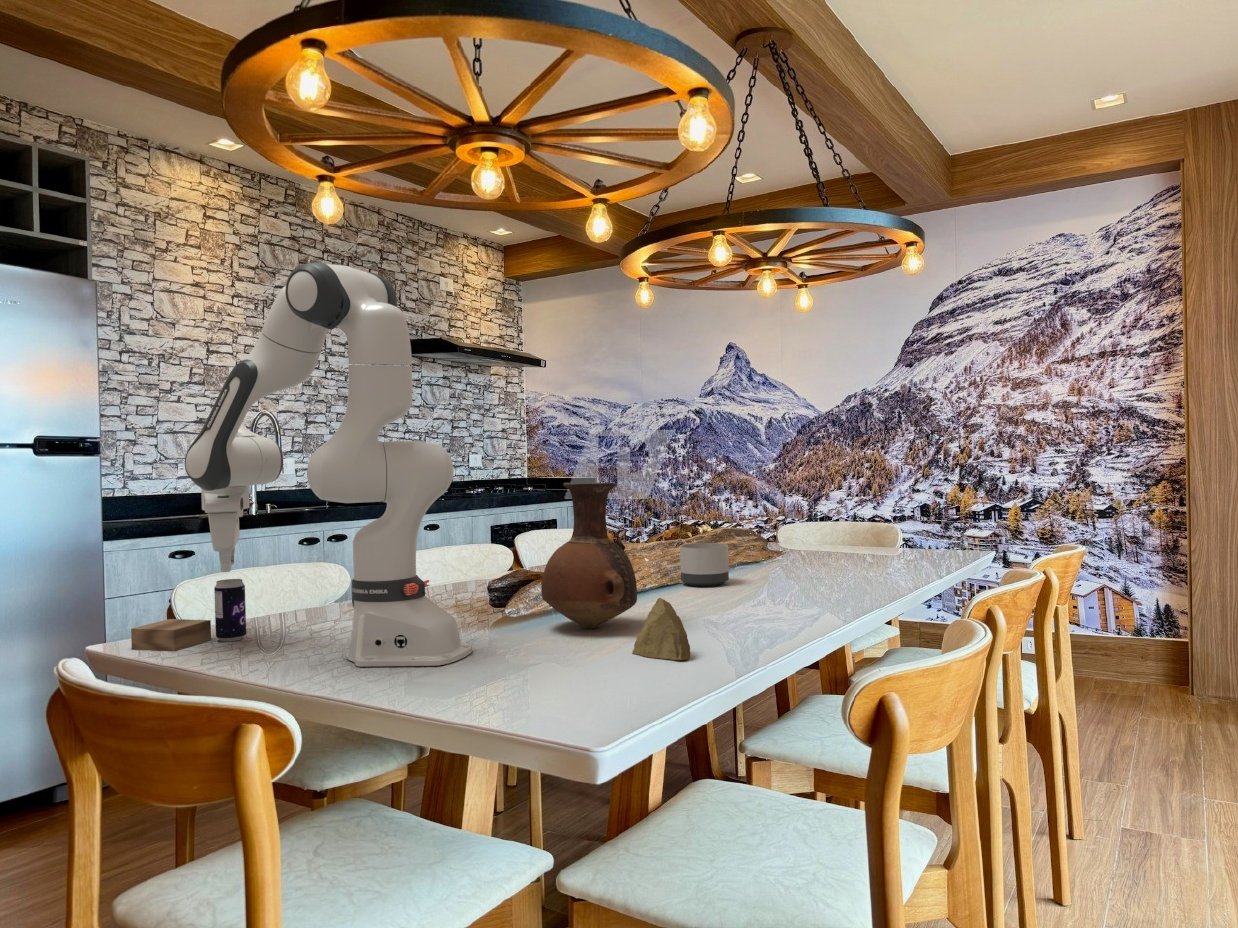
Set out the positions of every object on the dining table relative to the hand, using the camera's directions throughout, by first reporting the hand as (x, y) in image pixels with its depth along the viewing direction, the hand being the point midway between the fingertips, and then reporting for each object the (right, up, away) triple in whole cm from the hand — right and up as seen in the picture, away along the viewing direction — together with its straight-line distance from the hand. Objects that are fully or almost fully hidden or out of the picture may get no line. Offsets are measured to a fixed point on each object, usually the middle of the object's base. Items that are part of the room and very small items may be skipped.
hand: (227, 568), depth 177 cm
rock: (+87, -13, -25) cm, 92 cm away
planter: (+103, -11, +57) cm, 118 cm away
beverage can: (+1, -15, 0) cm, 15 cm away
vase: (+74, -13, +2) cm, 75 cm away
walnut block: (-10, -15, -4) cm, 18 cm away
